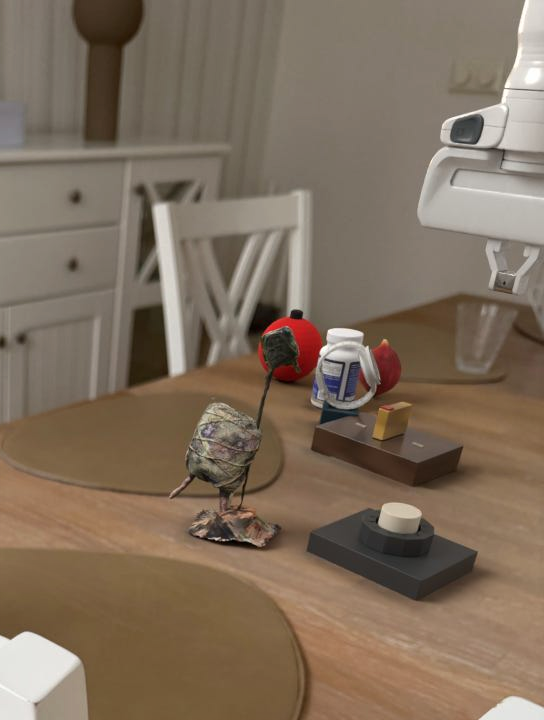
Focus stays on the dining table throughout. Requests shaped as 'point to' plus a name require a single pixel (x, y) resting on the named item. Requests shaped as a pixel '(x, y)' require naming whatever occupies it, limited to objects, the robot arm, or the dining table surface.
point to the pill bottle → (339, 367)
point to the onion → (384, 369)
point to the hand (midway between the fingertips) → (506, 292)
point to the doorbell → (392, 554)
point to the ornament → (306, 342)
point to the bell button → (400, 518)
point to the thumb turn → (392, 420)
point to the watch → (345, 408)
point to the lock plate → (387, 450)
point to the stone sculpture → (234, 454)
